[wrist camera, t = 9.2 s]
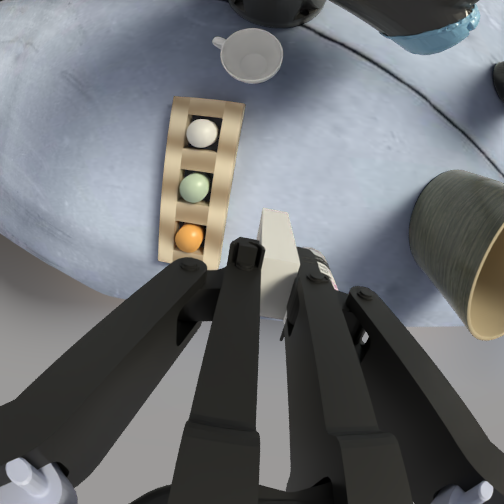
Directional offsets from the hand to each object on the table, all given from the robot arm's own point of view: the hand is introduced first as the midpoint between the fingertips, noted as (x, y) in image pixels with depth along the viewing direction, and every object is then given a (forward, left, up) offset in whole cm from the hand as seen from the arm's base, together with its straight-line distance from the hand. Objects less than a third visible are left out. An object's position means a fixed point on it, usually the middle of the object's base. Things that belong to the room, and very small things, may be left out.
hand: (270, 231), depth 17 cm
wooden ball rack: (+4, -10, -26) cm, 28 cm away
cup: (-16, -6, -27) cm, 32 cm away
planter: (+1, +36, -27) cm, 45 cm away
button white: (-4, -10, -26) cm, 28 cm away
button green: (+4, -10, -26) cm, 28 cm away
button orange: (+12, -10, -26) cm, 30 cm away
